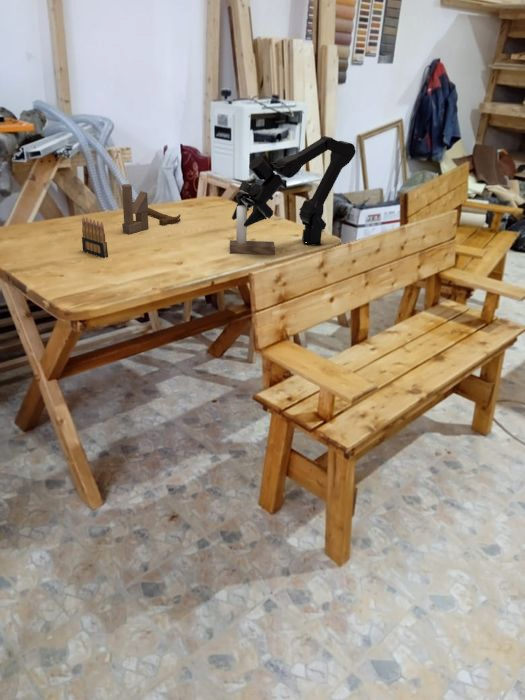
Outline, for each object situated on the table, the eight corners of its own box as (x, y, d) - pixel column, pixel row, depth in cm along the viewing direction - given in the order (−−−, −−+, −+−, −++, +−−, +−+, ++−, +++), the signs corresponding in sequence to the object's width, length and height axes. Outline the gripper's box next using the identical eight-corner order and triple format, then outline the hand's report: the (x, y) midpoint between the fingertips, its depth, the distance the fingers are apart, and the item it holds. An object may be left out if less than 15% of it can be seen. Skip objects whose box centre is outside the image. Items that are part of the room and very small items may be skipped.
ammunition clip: (82, 251, 193) (79, 216, 187) (86, 250, 194) (83, 215, 189) (104, 258, 188) (101, 222, 182) (108, 256, 189) (105, 221, 184)
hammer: (124, 210, 245) (162, 227, 226) (123, 203, 243) (162, 219, 224) (147, 207, 252) (186, 223, 233) (146, 200, 251) (186, 215, 232)
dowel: (244, 241, 203) (245, 205, 197) (247, 244, 200) (248, 207, 194) (234, 241, 202) (235, 205, 196) (238, 244, 199) (238, 208, 193)
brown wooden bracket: (148, 229, 221) (147, 182, 212) (129, 234, 213) (126, 186, 204) (142, 227, 223) (140, 180, 214) (122, 232, 214) (119, 184, 206)
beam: (273, 249, 206) (273, 241, 205) (274, 254, 201) (275, 246, 200) (229, 248, 205) (229, 240, 204) (229, 253, 200) (230, 245, 198)
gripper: (241, 167, 199) (212, 201, 199) (267, 178, 185) (236, 214, 185) (259, 189, 206) (232, 221, 206) (286, 200, 192) (256, 235, 192)
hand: (238, 222), depth 197 cm, fingers open, 9 cm apart
